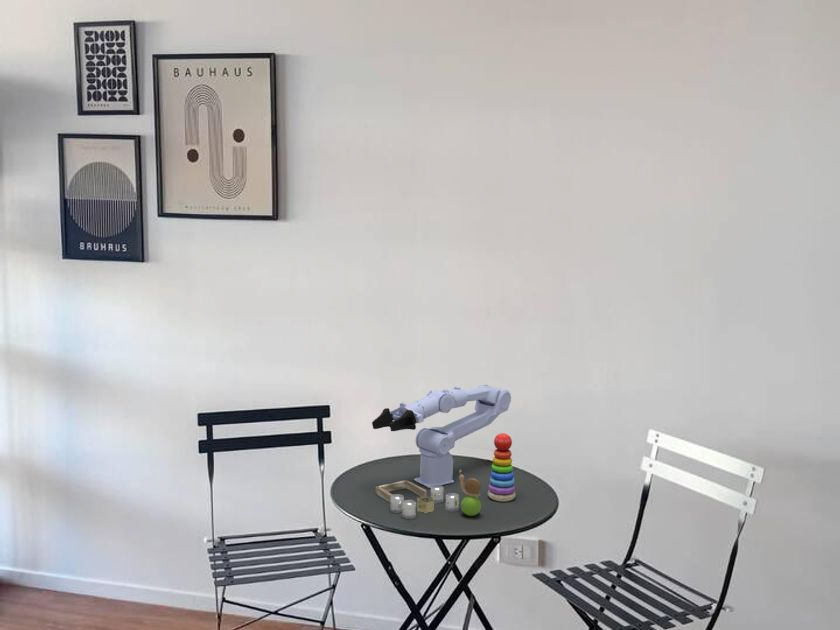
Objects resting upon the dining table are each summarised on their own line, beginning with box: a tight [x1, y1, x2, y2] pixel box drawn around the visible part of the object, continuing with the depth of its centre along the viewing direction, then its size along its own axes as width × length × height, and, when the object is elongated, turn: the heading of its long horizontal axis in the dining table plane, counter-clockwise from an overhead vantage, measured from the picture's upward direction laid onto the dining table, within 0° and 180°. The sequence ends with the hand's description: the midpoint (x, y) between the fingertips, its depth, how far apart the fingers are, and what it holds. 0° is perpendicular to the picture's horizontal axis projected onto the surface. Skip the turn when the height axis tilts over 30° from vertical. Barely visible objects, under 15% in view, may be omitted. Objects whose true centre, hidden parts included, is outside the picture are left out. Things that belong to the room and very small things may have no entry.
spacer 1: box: [389, 493, 405, 514], centre depth 218 cm, size 4×4×4 cm
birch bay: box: [374, 479, 428, 503], centre depth 229 cm, size 11×10×2 cm
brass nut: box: [416, 496, 435, 514], centre depth 220 cm, size 5×4×3 cm
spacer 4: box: [445, 492, 460, 513], centre depth 221 cm, size 4×4×4 cm
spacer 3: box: [429, 485, 445, 504], centre depth 226 cm, size 4×4×4 cm
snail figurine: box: [458, 469, 482, 517], centre depth 216 cm, size 5×6×12 cm
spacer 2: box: [401, 499, 417, 520], centre depth 215 cm, size 4×4×4 cm
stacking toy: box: [487, 432, 517, 502], centre depth 229 cm, size 8×8×19 cm
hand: (382, 426), depth 223 cm, fingers open, 7 cm apart
